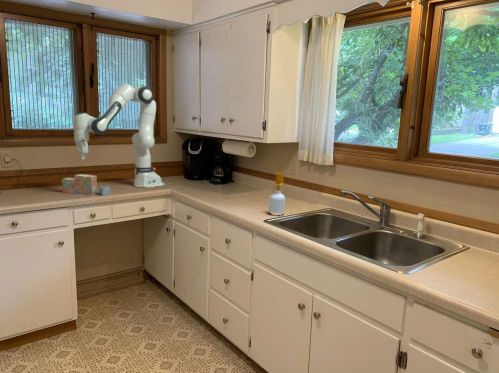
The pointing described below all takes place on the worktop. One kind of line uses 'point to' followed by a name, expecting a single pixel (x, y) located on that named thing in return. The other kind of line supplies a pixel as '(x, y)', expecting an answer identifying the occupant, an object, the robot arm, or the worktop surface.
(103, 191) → the slate cube
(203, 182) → the worktop surface
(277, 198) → the soap bottle
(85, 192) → the stack of blocks
